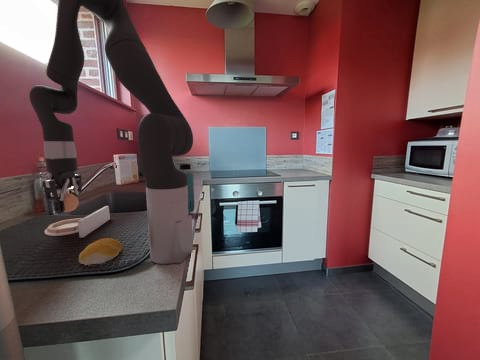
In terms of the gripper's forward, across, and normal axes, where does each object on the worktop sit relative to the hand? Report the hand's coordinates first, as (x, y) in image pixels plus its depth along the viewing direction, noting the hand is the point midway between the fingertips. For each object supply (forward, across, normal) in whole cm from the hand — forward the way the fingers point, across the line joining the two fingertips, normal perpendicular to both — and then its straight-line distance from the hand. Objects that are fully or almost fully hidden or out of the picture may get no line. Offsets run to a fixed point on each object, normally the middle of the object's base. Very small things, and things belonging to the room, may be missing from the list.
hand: (67, 209), depth 68 cm
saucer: (+6, 0, 0) cm, 6 cm away
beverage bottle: (+6, -11, +36) cm, 38 cm away
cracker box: (+7, -87, -16) cm, 89 cm away
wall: (+6, 0, +8) cm, 10 cm away
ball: (-2, 0, 0) cm, 2 cm away
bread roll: (+7, +20, +20) cm, 29 cm away
